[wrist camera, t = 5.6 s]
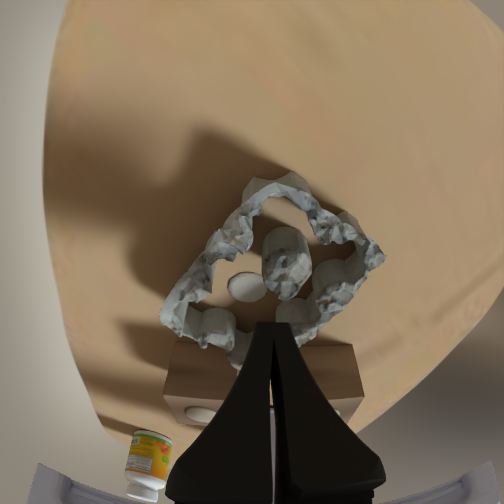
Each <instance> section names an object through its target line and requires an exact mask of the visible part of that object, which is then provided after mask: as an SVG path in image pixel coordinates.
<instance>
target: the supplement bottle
mask: <svg viewBox="0 0 504 504" xmlns="http://www.w3.org/2000/svg"><path fill="white" fill-rule="evenodd" d="M171 448H172V441H171V440H170V439H169V438H167V437H165V436H163V435H161V434H158V433H155V432H151V431H145V430H138V431H135V432H134V435H133V438H132V443H131V447H130V451H129V456H128V460H127V465H126V469H125V478H126V479H127V480H128V481H130V485H128V487H127V491H126V494H127V495H129V496H131V497H135V498H138V499H141V500H146V501H151V502H157V499H158V493H157V490H158V489H162V488H164V486H165V484H166V478H167V472H168V465H169V460H170V454H171Z"/></svg>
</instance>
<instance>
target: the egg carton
mask: <svg viewBox="0 0 504 504" xmlns="http://www.w3.org/2000/svg"><path fill="white" fill-rule="evenodd" d="M242 194H243V195H242V203H241V206H240V207H239V208H237V209H236V210H234V212H233V213H232V214H231V215H230V216H229V217H228V219H227V220H226V221H225V223H224V225H223V227H222V228H219V229H218V230H215V231H214V232H213V234H212V235H211V237H210V238H209V239H208V241H207V244H206V247H205V250H204V251H203V252H202V253H201V254H199V255H198V257H197V258H196V260H195V261H194V262H193V264H192V265H191V266H190V267H189V269H188V270H187V271H186V272H185V274H184V275H183V276H182V277H181V278H180V279H179V280H178V282H177V283H176V284H175V285H174V287H173V288H172V290H171V292H170V294H169V295H168V297H167V299H166V301H165V302H164V304H163V306H162V308H161V310H160V312H159V317H160V320H161V323H162V325H164V326H167V327H169V328H171V329H172V330H173V331H174V332H175V333H176V334H177V335H178V336H179V337H182V335H184V336H188V337H190V338H192V339H193V340H195V341H196V342H197V343H198V345H199V347H200V348H203V349H205V348H207V342H210V343H212V344H214V345H216V346H218V347H221V348H224V349H225V350H226V357H227V359H228V362H229V363H230V364H231V365H232V366H233V367H235V368H236V369H238V370H241V368H242V365H243V363H244V360H245V358H246V355H247V353H248V350H249V347H250V344H251V340H252V337H253V332H254V331H252V332H249V333H247V334H246V333H244V332H242V331H240V330H237V329H236V318H235V316H234V314H232V313H231V312H230V311H228V310H225V309H222V308H209V309H207V310H205V311H203V312H200V311H198V310H196V309H194V308H193V307H191V306H190V305H189V302H195V303H198V302H199V301H200V300H202V299H204V298H205V297H206V296H207V295H208V293H212V283H213V278H214V274H215V268H216V262H217V260H218V259H221V258H224V259H226V260H227V261H232V262H233V261H234V260H235V258H236V257H237V255H238V254H240V253H241V254H243V255H244V254H245V253H246V251H248V250H249V248H250V247H251V245H252V243H253V237H254V235H253V232H252V217H253V216H255V215H260V213H261V212H262V204H263V203H264V201H265V200H266V199H267V198H269V197H281V196H286V197H288V198H289V199H290V200H292V202H293V203H294V204H295V205H296V206H297V207H299V208H300V209H301V210H304V211H306V213H307V216H308V221H309V223H310V225H311V226H312V229H313V232H314V234H315V236H316V238H317V240H319V241H321V242H322V243H323V244H324V245H327V244H330V243H331V241H335V242H336V243H337V244H343V243H345V242H346V241H348V240H353V242H354V244H355V247H356V250H355V251H354V253H353V254H352V255H351V256H350V257H349V258H347V259H346V260H345V261H343V260H340V259H328V260H325V261H323V262H321V263H320V264H318V265H317V266H316V268H315V269H314V271H313V273H312V262H311V257H310V253H309V249H308V245H307V241H308V240H307V239H306V238H305V236H304V235H303V234H302V232H301V231H300V230H297V229H296V228H293V227H287V226H285V227H278V228H274V229H273V230H271V231H270V232H269V233H267V235H266V236H265V237H264V240H263V244H262V276H261V275H259V274H257V273H254V272H243V273H239V274H237V275H235V276H234V277H233V278H232V279H231V280H230V282H229V285H228V290H229V292H230V294H231V296H232V297H233V298H234V299H236V300H239V301H241V302H250V303H252V302H256V301H258V300H260V299H262V298H263V297H264V296H265V295H266V294H267V291H268V289H269V290H271V291H272V292H273V293H275V294H276V295H277V297H278V299H280V300H283V301H282V302H281V303H280V304H279V305H278V306H277V309H276V313H275V316H276V322H288V323H289V324H291V328H292V332H293V335H294V337H295V340H296V343H297V345H298V347H300V346H301V345H303V344H305V343H306V342H308V341H310V340H312V339H313V338H314V337H316V335H317V333H318V331H319V329H321V328H322V327H323V326H324V325H325V324H326V323H327V322H328V321H329V320H330V319H331V318H332V317H333V316H335V315H336V314H338V313H339V312H341V311H343V310H344V309H345V307H346V306H347V304H348V303H349V302H350V301H351V299H352V298H353V297H354V295H355V294H356V293H357V291H358V289H359V288H360V286H361V284H362V283H363V282H364V281H366V279H367V277H368V275H369V273H370V271H371V270H372V269H374V268H376V267H379V266H380V265H381V264H382V263H383V262H384V261H385V258H386V256H385V255H384V254H383V252H382V251H381V250H380V248H379V246H378V245H377V244H376V243H375V242H374V241H373V240H372V239H370V238H367V237H366V235H365V234H364V232H363V230H362V229H361V227H360V225H359V223H358V220H357V219H356V218H354V217H353V216H352V215H350V214H349V213H348V212H347V211H342V212H341V213H340V214H338V215H336V216H335V215H334V214H332V213H330V212H328V211H327V210H325V209H322V208H321V207H320V205H319V202H318V201H317V200H316V199H315V198H314V197H313V196H312V195H311V192H310V189H309V186H308V183H307V181H306V180H304V179H303V178H302V177H300V176H299V175H298V174H296V173H295V172H292V171H290V172H289V173H288V174H286V175H285V176H283V177H281V178H278V179H275V180H265V179H261V178H258V177H253V178H252V179H251V180H250V182H249V183H248V185H247V186H246V187H245V189H244V191H243V193H242ZM306 240H307V241H306ZM311 274H312V278H311V279H312V285H313V291H312V292H311V294H310V295H309V296H308V298H307V299H303V298H293V297H295V296H296V295H297V293H298V292H299V290H300V288H301V287H302V285H303V284H304V283H305V281H306V280H307V279H308V278H309V276H310V275H311Z"/></svg>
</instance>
